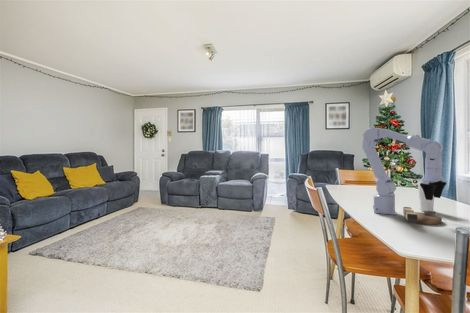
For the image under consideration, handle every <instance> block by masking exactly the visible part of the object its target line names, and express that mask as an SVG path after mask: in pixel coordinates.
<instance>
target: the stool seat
mask: <svg viewBox="0 0 470 313" xmlns="http://www.w3.org/2000/svg"><path fill="white" fill-rule="evenodd" d="M414 212H415V214H416V215H417V223H416V224H418V225H424V226H425V225H426V226H438V225H440V226H441V225H442V223H443V222H442V221H443V218H442V217H441V216H439V215H437V212H436V211H435V210H433V211H429V210H424V211H423V212H422V211H421V212H418V211H414ZM404 220H405V221H407V219H406V217H405V216H404Z"/></svg>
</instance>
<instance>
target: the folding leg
mask: <svg viewBox="0 0 470 313" xmlns="http://www.w3.org/2000/svg"><path fill="white" fill-rule="evenodd" d="M402 212H403V213H402V214H403V216H404V218H405V217H406V219H407V220H406V219H405V220H406V222H407V223H413V224H417V215H416V214H415V212H416V211H414V210H413V208H412V207H410V206H409V207H408V206H404V207H403V211H402Z"/></svg>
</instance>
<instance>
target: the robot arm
mask: <svg viewBox="0 0 470 313" xmlns="http://www.w3.org/2000/svg"><path fill="white" fill-rule="evenodd" d="M362 136H363V140H362V149H363V151H364V153H365V156H366V158H367V161H368V162H369V163H368V164H369V165H370V167H371V170H372V172H373V174H374V177H375V181H374V182H375V185H376V192H377V194H373V205H372V210H373V213H375V214H381V215H382V214H383V215H394V216H395V215H396V216H397V215H398V213H397V212H396V195H395V191H396V190H397V185H396V184H395V182H394V181H393V180H392V179H391V176H388V174H387V172H386V169H385V168H384V165H383V163H382V161H381V159H380V156H379V154H378V152H377V149H376V146H377V144H378V142H379V141H380V140H381V139H383V138H384V139H386V138H388V139H389V138H390V139H392V140H394V141H395V140H396V141H400V142H403V143H404V144H405V145H406V147H409V148H411V149H414V150H418V151H420V152H424V154H425V157H424V158H425V159H424V164H425V165H424V178H423V179H422V181H423V183H420V186H421V187H422V189H423V191H424V194H425V198H426V200H432V199H433V195H434V198H438V199H441V197H442V194H443V190H444V189H445V187H446V186H447V182H446V178H444V177H443V169H442V168H443V158H442V156H443V154H442V152H443V150H444V147H443V144H442V143H441V142H439V141H437V140H436V141H435V140H432V139H431V138H425V137H421V135H420V134H415V135H414V134H412V135H409V136H408V135H405V134H402V133H399V132H397V131H394V130H391V129H387V128H381V127H373V126H370V127H368V128H366V129H365V131H364V133H363V134H362Z"/></svg>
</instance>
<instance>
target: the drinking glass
mask: <svg viewBox="0 0 470 313" xmlns="http://www.w3.org/2000/svg"><path fill="white" fill-rule="evenodd" d="M420 183H423V180H419V181H418V183H417V190H418V201H419V210H420V211H421V212H424V210H429V211H434V207H435V206H434V205H435V197H434V195H433V199H432V200H426V198H425V194H424V191H423V189H422V187H421V186H420Z"/></svg>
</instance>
